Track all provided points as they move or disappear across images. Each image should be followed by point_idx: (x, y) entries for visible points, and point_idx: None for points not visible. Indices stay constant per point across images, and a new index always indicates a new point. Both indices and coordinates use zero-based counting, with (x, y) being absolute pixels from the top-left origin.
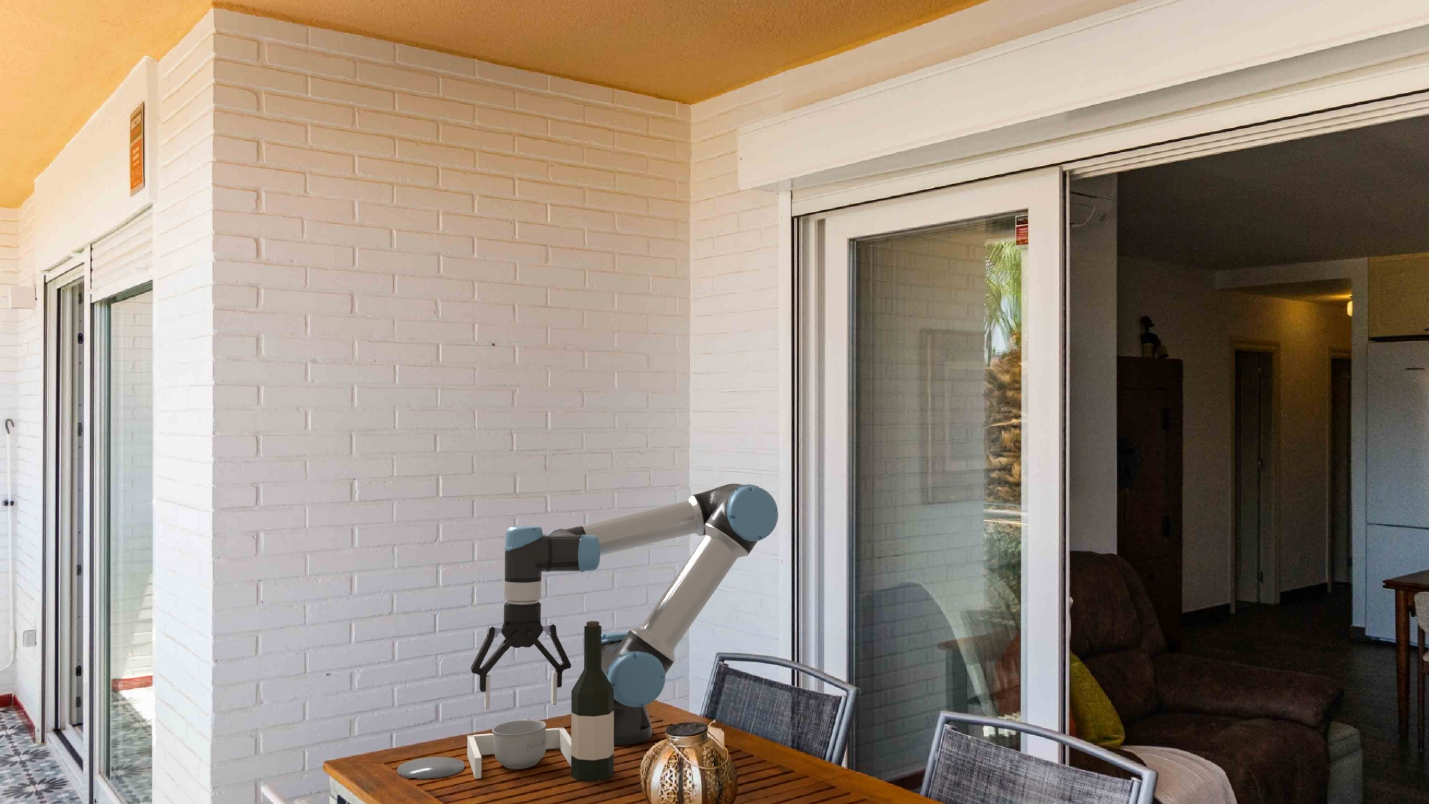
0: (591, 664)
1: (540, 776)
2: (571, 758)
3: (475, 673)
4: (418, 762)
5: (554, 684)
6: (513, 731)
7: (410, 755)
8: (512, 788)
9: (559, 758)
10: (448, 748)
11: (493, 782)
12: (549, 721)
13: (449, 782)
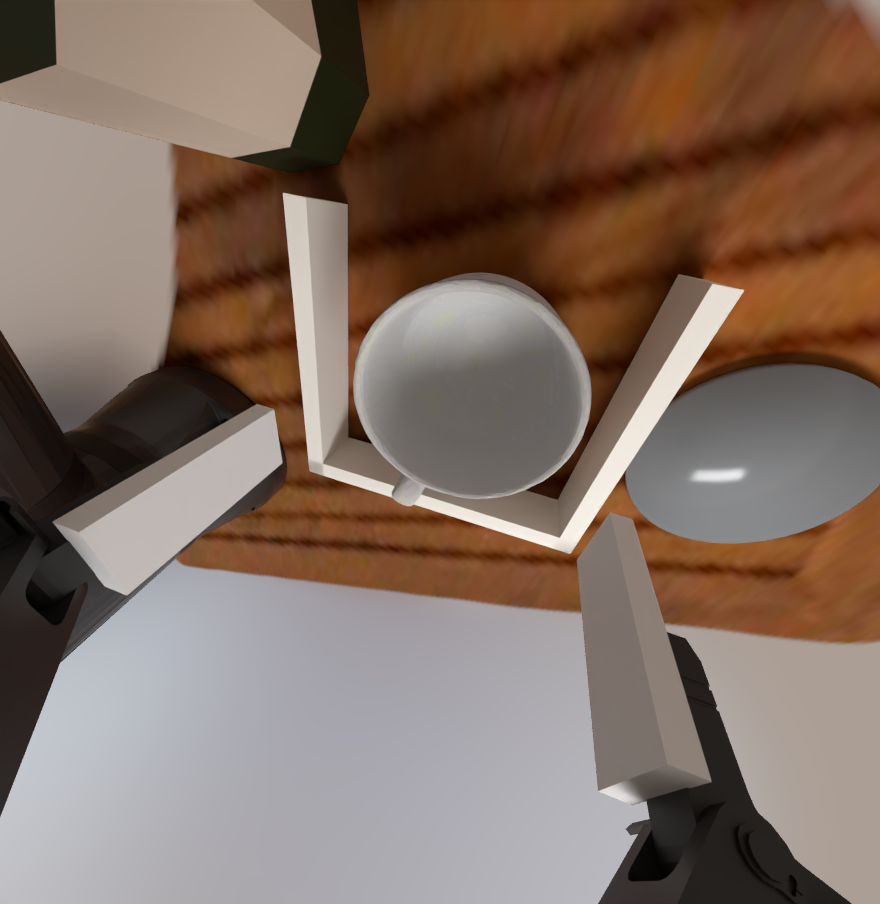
0: None
1: (473, 173)
2: (328, 59)
3: (844, 900)
4: (744, 518)
5: (166, 470)
6: (462, 468)
7: (687, 582)
8: (668, 3)
9: None
10: (577, 571)
11: (675, 183)
12: (337, 581)
13: (820, 287)
